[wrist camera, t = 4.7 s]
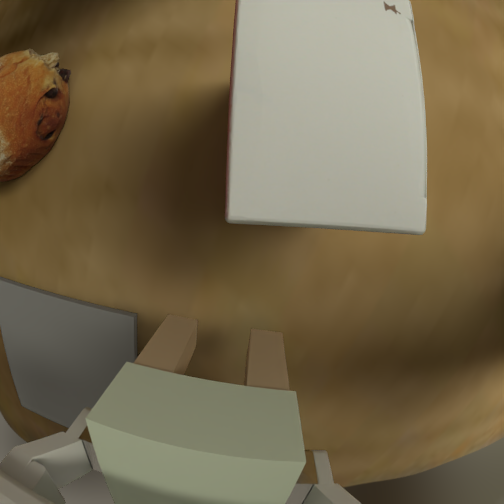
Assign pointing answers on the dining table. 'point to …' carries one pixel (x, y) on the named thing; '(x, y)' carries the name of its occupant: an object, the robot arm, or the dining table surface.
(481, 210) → the dining table surface
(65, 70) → the bread roll
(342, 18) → the small box
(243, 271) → the dining table surface
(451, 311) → the dining table surface
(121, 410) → the stool
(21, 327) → the mat
